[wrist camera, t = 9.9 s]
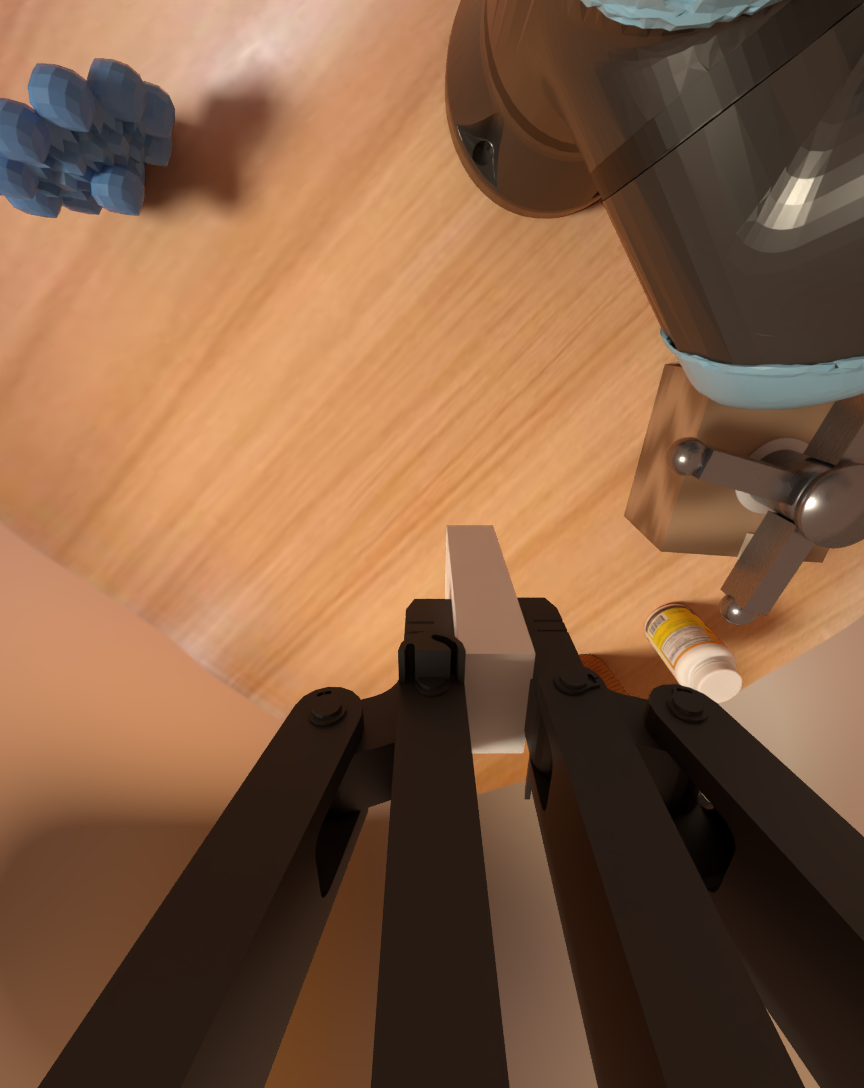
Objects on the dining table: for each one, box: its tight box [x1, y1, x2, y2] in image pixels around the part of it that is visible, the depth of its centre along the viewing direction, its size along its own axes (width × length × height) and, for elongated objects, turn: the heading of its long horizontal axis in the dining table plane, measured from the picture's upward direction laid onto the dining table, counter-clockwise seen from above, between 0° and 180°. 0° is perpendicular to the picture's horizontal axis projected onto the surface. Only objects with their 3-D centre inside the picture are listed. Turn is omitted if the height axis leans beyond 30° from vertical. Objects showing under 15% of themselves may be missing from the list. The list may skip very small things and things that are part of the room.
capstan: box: [665, 394, 864, 625], centre depth 33 cm, size 22×22×7 cm
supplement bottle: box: [645, 604, 742, 703], centre depth 47 cm, size 6×6×10 cm
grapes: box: [0, 58, 175, 218], centre depth 30 cm, size 12×7×12 cm, turn 123°
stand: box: [624, 365, 835, 563], centre depth 40 cm, size 16×14×8 cm
